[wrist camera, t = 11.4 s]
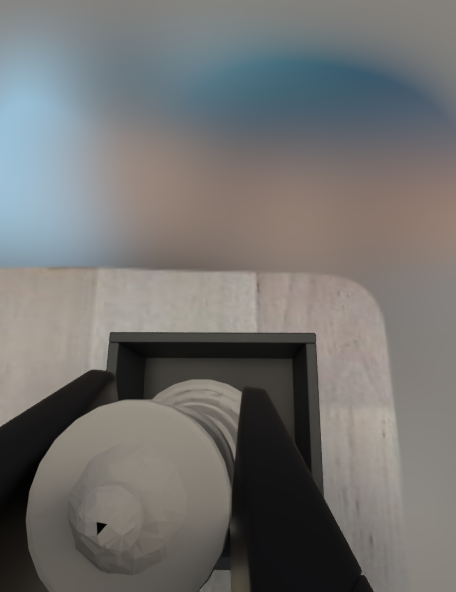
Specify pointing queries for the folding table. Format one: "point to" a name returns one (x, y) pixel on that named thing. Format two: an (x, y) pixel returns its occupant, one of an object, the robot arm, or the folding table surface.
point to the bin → (228, 377)
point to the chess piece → (138, 493)
